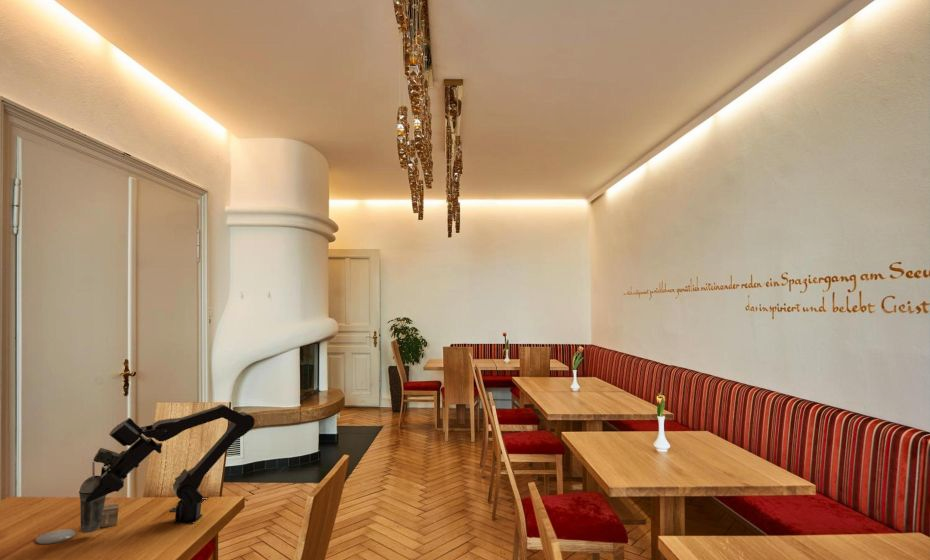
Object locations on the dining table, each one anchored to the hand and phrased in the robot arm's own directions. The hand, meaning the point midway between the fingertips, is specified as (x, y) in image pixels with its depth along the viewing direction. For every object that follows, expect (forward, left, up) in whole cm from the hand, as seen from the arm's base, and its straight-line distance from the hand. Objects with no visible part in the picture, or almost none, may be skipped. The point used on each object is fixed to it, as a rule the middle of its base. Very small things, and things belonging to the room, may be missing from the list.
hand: (87, 497), depth 149 cm
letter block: (0, -11, -12) cm, 17 cm away
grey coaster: (+8, -1, -12) cm, 15 cm away
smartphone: (-17, -29, -13) cm, 36 cm away
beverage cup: (-1, -1, -10) cm, 10 cm away
